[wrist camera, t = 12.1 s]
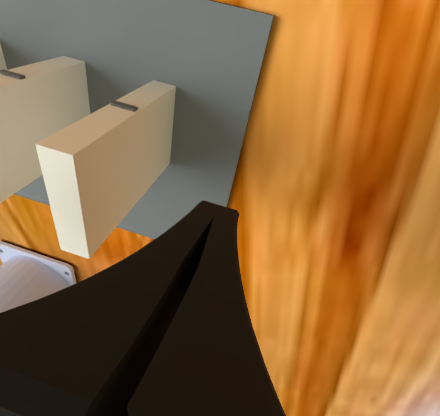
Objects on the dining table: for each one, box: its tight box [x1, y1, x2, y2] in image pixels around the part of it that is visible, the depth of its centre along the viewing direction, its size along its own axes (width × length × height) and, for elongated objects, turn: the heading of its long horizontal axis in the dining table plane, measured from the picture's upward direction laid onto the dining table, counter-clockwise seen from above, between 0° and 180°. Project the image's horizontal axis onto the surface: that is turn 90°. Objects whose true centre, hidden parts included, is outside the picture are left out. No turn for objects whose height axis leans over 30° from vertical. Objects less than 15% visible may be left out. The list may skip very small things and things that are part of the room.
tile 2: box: [0, 56, 90, 203], centre depth 13 cm, size 5×1×8 cm, turn 170°
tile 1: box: [35, 80, 176, 259], centre depth 13 cm, size 5×1×8 cm, turn 170°
